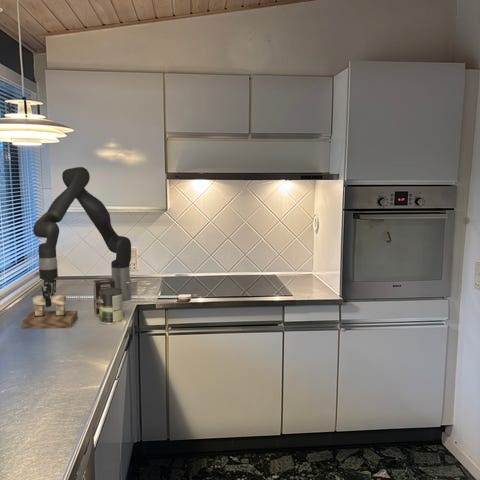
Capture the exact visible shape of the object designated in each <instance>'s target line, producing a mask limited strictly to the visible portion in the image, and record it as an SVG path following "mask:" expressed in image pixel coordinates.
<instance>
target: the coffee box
mask: <svg viewBox="0 0 480 480" xmlns="http://www.w3.org/2000/svg"><path fill="white" fill-rule="evenodd" d="M92 284H93V285H92V286H93V314H94V315H95V316H96V317H100V309H99V290H101V289H105V288H115V281H114V280H113V279H112V278H106V279H105V278H104V279H94V280H93V283H92Z"/></svg>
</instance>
